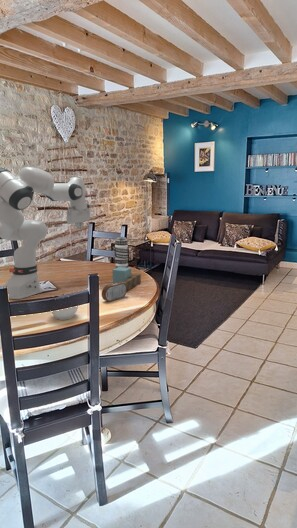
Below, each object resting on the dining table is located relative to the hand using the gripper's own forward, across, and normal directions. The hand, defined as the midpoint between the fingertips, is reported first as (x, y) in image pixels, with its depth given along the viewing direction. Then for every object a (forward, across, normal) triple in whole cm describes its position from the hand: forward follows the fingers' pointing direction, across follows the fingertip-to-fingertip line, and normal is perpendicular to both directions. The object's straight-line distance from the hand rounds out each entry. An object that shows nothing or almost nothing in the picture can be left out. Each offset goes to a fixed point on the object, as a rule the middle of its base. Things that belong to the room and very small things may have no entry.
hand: (79, 230), depth 207 cm
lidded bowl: (+31, -54, -24) cm, 67 cm away
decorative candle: (+31, +19, -18) cm, 41 cm away
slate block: (+31, 0, -27) cm, 41 cm away
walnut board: (+31, 0, -32) cm, 45 cm away
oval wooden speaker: (+32, -24, -34) cm, 52 cm away
